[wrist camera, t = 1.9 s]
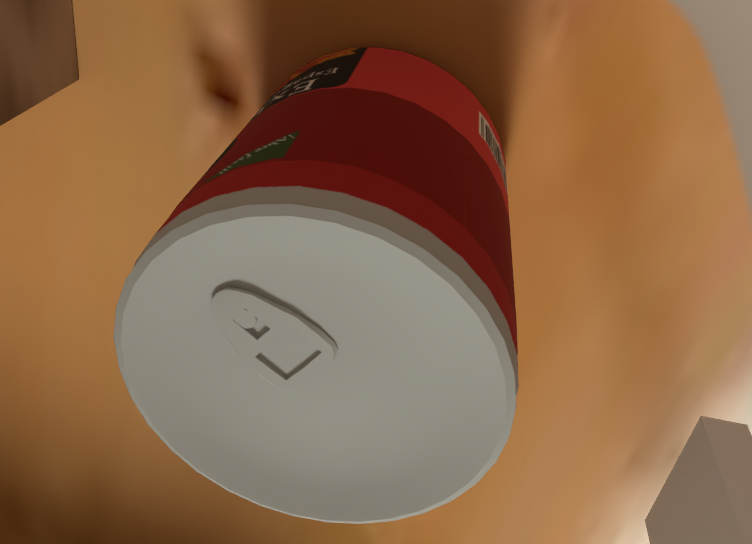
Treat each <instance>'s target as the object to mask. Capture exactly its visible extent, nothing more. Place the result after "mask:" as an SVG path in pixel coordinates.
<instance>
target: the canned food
mask: <svg viewBox="0 0 752 544" xmlns="http://www.w3.org/2000/svg"><path fill="white" fill-rule="evenodd" d="M114 341H115V347H116V352H117V358H118V364H119V369H120V371H121V374H122V376H123V379H124V381H125V384H126V386H127V389H128V391H129V394H130V396H131V398H132V400H133V401H134V403H135V404H136V406H137V408H138V409H139V411H140V412H141V414H142V415H143V417H144V418H145V420H146V422H147V423H148V425H149V426H150V427H151V428H152V429H153V430H154V432H155V433H156V434H157V435H158V436H159V437H160V438H161V439H162V440H163V442H164V443H165V444H166V445H167V446H168V447H169V448H170V449H171V450H172V451H173V452H174V453H175V454H176V455H178V456H179V457H180V458H181V459H183V460H184V461H185V462H186V463H187V464H189V465H190V466H191V467H192V468H193V469H195V470H196V471H197V472H198V473H200V474H202V475H203V476H205V477H206V478H208V479H210V480H211V481H213V482H214V483H216V484H218V485H219V486H221V487H222V488H224V489H226V490H227V491H229V492H231V493H234V494H236V495H238V496H240V497H242V498H244V499H247V500H249V501H251V502H253V503H255V504H257V505H260V506H263V507H266V508H269V509H272V510H276V511H279V512H282V513H285V514H288V515H291V516H296V517H301V518H307V519H312V520H318V521H323V522H335V523H355V524H363V523H374V522H386V521H394V520H398V519H402V518H406V517H410V516H415V515H419V514H423V513H425V512H428V511H430V510H432V509H434V508H437V507H439V506H441V505H444V504H446V503H448V502H450V501H452V500H454V499H455V498H457V497H458V496H459V495H461V494H462V493H464V492H465V491H467V490H468V489H469V488H471V487H472V486H474V485H475V484H476V483H477V482H478V481H479V480H480V479H481V478H482V477H483V476H484V475H485V473H486V472H487V471H488V470H489V469H490V468H491V467H492V466H493V465H494V463H495V462H496V461H497V459H498V457H499V455H500V453H501V451H502V449H503V448H504V446H505V444H506V442H507V440H508V438H509V436H510V432H511V427H512V423H513V418H514V414H515V409H516V396H517V391H518V363H517V353H518V350H517V326H516V310H515V295H514V281H513V267H512V252H511V238H510V224H509V209H508V195H507V181H506V167H505V157H504V154H503V150H502V146H501V142H500V138H499V135H498V133H497V131H496V129H495V127H494V125H493V123H492V121H491V119H490V117H489V115H488V113H487V111H486V110H485V109H484V108H483V106H482V105H481V104H480V102H479V101H478V100H477V99H476V97H475V96H474V95H473V93H472V92H471V91H470V90H469V89H468V88H466V87H465V86H464V85H463V84H462V83H461V82H460V81H458V80H457V79H456V78H455V77H454V76H453V75H452V74H450V73H449V72H447V71H445V70H443V69H442V68H440V67H438V66H437V65H435V64H433V63H431V62H430V61H428V60H426V59H423V58H420V57H417V56H414V55H411V54H409V53H406V52H403V51H398V50H391V49H384V48H378V47H367V48H350V49H345V50H341V51H337V52H334V53H330V54H326V55H323V56H321V57H319V58H317V59H315V60H314V61H312V62H310V63H308V64H306V65H304V66H302V67H301V68H300V69H298V70H297V71H296V72H295V73H294V74H293V75H291V76H290V77H289V78H288V79H287V80H286V81H284V82H283V83H282V85H281V86H280V87H279V88H278V89H277V90H276V92H275V93H274V94H273V95H272V96H271V97H270V99H269V100H268V101H267V102H266V103H265V104H264V106H263V107H262V108H261V109H260V110H259V111H258V113H257V114H256V115H255V116H254V117H253V118H252V119H251V121H250V122H249V123H248V124H247V125H246V126H245V128H244V129H243V130H242V131H241V132H240V133H239V135H238V136H237V137H236V138H235V139H234V140H233V142H232V143H231V144H230V145H229V146H228V147H227V149H226V150H225V151H224V152H223V153H222V154H221V156H220V157H219V158H218V159H217V160H216V161H215V163H214V164H213V165H212V166H211V167H210V168H209V170H208V171H207V172H206V173H205V174H204V175H203V177H202V178H201V179H200V180H199V181H198V182H197V184H196V185H195V186H194V187H193V188H192V189H191V190H190V192H189V193H188V194H187V195H186V196H185V197H184V199H183V200H182V201H181V202H180V203H179V204H178V206H177V207H176V208H175V210H174V211H173V212H172V214H171V215H170V217H169V218H168V219H167V221H166V222H165V223H164V224H163V225H162V227H161V228H160V229H159V230H158V231H157V232H156V234H155V235H154V236H153V238H152V239H151V241H150V242H149V243H148V245H147V246H146V248H145V249H144V250H143V252H142V253H141V255H140V256H139V257H138V259H137V260H136V263H135V266H134V268H133V270H132V271H131V273H130V274H129V275H128V277H127V278H126V281H125V284H124V287H123V289H122V292H121V295H120V298H119V301H118V304H117V306H116V317H115V330H114Z"/></svg>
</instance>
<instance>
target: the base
mask: <svg viewBox="0 0 752 544" xmlns="http://www.w3.org/2000/svg"><path fill="white" fill-rule="evenodd" d="M77 80H79V75H78V65H77V54H76V43H75V32H74V21H73V11H72V0H0V126H1V125H2V124H4V123H6V122H7V121H9V120H11V119H12V118H14V117H16V116H18V115H19V114H21V113H23V112H24V111H26V110H28V109H29V108H31V107H33V106H35V105H36V104H38V103H40V102H41V101H43V100H45V99H47V98H48V97H50V96H52V95H53V94H55V93H57V92H58V91H60V90H62V89H64V88H65V87H67V86H69V85H70V84H72V83H74V82H75V81H77Z"/></svg>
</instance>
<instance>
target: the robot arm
mask: <svg viewBox="0 0 752 544" xmlns="http://www.w3.org/2000/svg"><path fill="white" fill-rule="evenodd" d="M645 523H646V527H647V532H648V536H649V541H650V544H752V436H751V433H750V431H749V429H748V426H747V425H745V424H740V423H734V422H729V421H724V420H719V419H714V418H709V417H704V416H701V417H700V419H699V421H698V423H697V424H696V426H695V428H694V430H693V432H692V434H691V436H690V437H689V439H688V441H687V443H686V445H685V447H684V449H683V450H682V452H681V454H680V456H679V458H678V460H677V462H676V464H675V465H674V467H673V469H672V471H671V473H670V475H669V477H668V478H667V480H666V482H665V484H664V486H663V488H662V490H661V491H660V493H659V495H658V497H657V499H656V501H655V503H654V504H653V506H652V508H651V510H650V512H649V514H648V516H647V518H646V519H645Z"/></svg>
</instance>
